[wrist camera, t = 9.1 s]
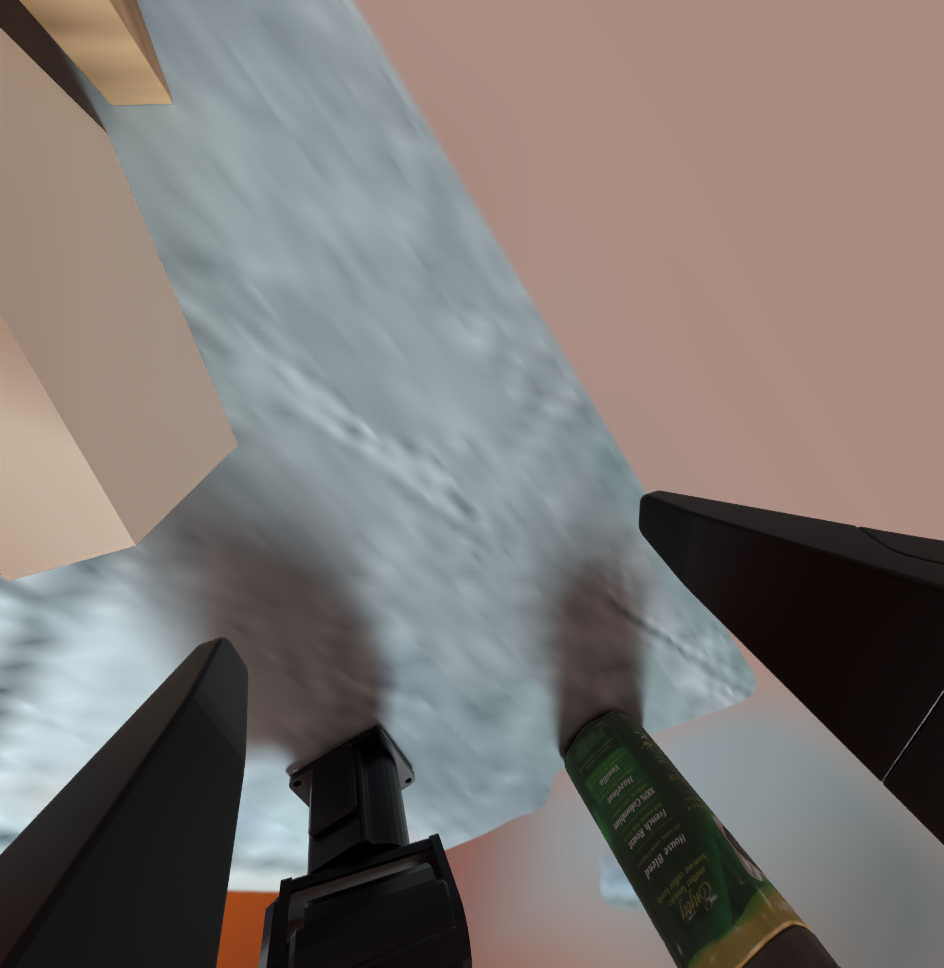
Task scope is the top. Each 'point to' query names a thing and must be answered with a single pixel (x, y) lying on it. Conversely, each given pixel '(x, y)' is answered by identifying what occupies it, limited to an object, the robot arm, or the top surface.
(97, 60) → the oak box
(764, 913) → the coffee jar
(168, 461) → the cover plate
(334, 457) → the top surface
